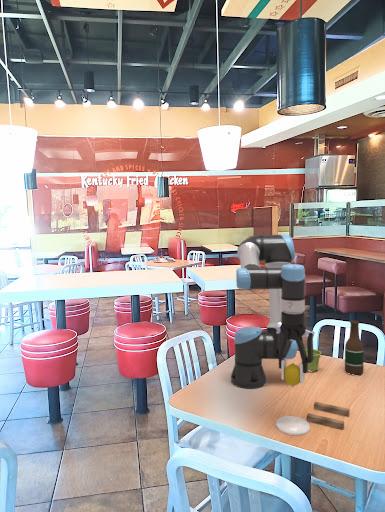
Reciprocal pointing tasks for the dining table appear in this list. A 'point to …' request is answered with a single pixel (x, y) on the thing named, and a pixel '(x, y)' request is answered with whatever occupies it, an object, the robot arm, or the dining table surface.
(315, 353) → the plant pot
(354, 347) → the beer bottle
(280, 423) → the saucer
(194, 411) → the dining table surface
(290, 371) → the lemon
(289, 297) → the robot arm
